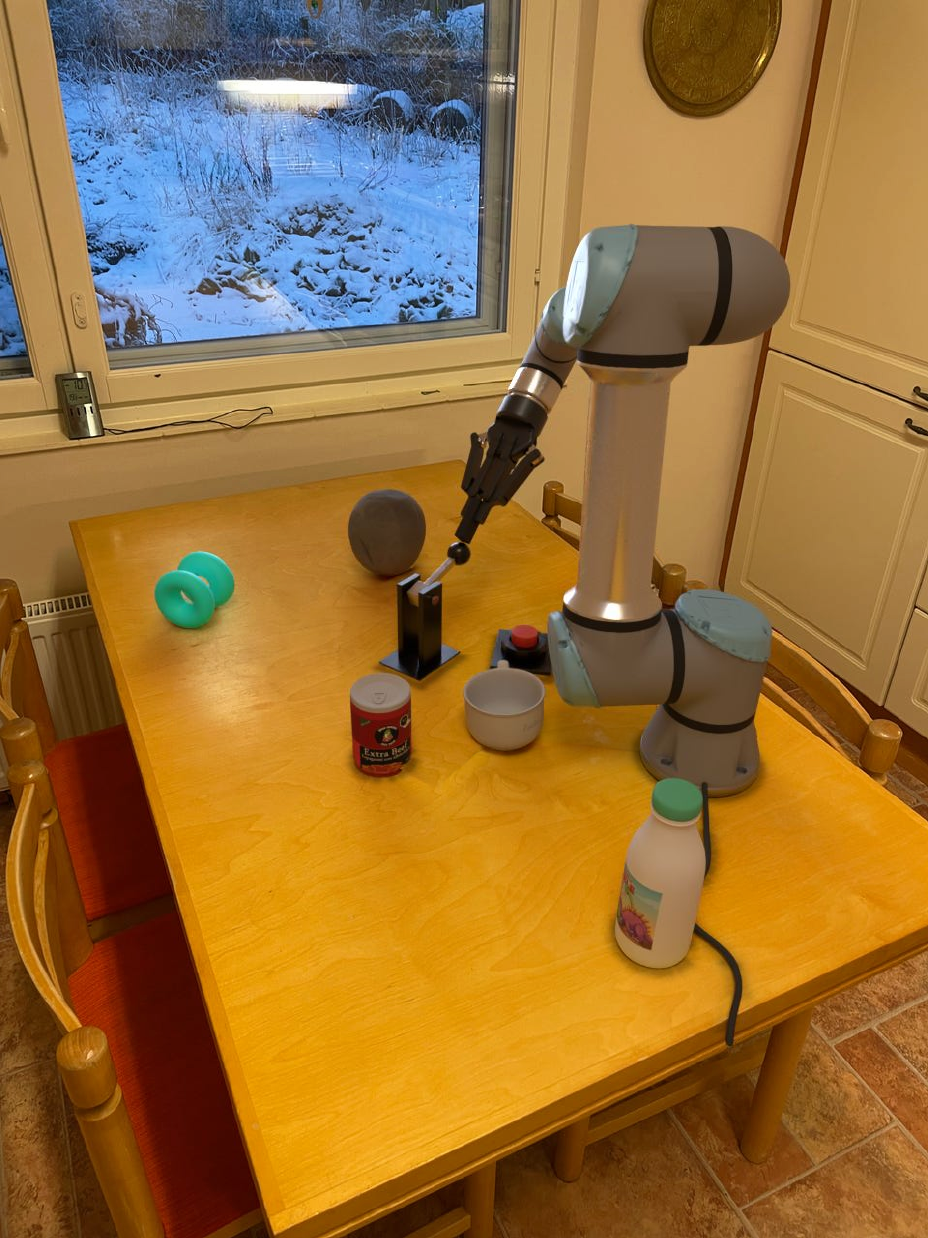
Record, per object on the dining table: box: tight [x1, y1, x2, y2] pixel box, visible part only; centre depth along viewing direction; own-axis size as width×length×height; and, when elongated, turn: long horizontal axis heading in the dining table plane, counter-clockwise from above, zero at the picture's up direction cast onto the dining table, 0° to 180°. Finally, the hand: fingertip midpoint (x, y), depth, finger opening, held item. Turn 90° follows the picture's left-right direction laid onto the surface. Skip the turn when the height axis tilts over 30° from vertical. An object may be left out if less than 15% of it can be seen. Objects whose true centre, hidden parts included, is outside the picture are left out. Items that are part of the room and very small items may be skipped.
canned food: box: [349, 672, 412, 778], centre depth 115 cm, size 8×8×11 cm
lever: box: [407, 541, 472, 607], centre depth 135 cm, size 13×4×4 cm, turn 144°
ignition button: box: [511, 624, 539, 648], centre depth 138 cm, size 4×4×2 cm
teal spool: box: [153, 551, 236, 629], centre depth 147 cm, size 10×10×10 cm
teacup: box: [462, 660, 547, 752], centre depth 122 cm, size 14×11×8 cm
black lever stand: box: [378, 573, 461, 682], centre depth 135 cm, size 10×8×14 cm
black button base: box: [489, 628, 552, 677], centre depth 139 cm, size 11×9×4 cm
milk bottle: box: [614, 778, 706, 969], centre depth 89 cm, size 8×8×20 cm
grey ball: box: [347, 488, 427, 577], centre depth 161 cm, size 14×14×15 cm
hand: (461, 539), depth 137 cm, fingers closed
